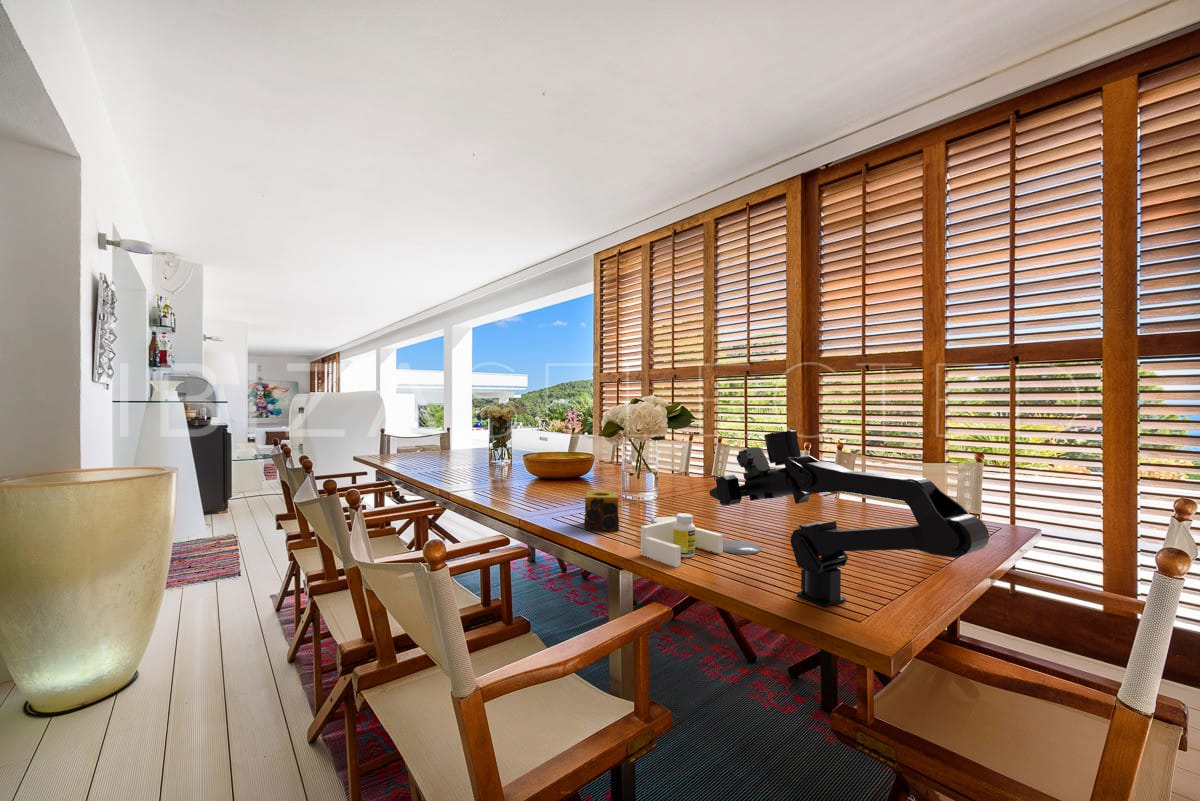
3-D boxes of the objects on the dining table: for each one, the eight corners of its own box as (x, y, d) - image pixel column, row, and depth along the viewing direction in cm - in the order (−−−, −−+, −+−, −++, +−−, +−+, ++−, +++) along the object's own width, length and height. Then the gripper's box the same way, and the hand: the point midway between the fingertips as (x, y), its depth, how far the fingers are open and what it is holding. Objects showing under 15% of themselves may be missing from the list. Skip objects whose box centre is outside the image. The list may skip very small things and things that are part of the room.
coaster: (770, 550, 128) (770, 549, 128) (737, 556, 122) (737, 555, 122) (739, 539, 137) (739, 538, 137) (707, 545, 132) (707, 543, 132)
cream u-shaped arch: (722, 552, 126) (723, 524, 126) (675, 567, 115) (676, 536, 115) (687, 542, 135) (687, 516, 135) (640, 554, 123) (640, 526, 123)
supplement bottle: (690, 559, 120) (690, 518, 120) (669, 555, 123) (669, 515, 123) (698, 553, 125) (698, 514, 125) (678, 549, 128) (678, 511, 128)
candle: (619, 532, 144) (619, 497, 144) (584, 531, 145) (584, 497, 144) (618, 523, 155) (618, 490, 155) (585, 522, 155) (585, 490, 155)
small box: (685, 541, 135) (685, 522, 135) (657, 542, 134) (657, 523, 134) (677, 534, 143) (677, 516, 143) (650, 535, 142) (650, 517, 142)
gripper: (796, 443, 113) (744, 455, 126) (738, 447, 103) (688, 460, 116) (808, 493, 110) (753, 500, 123) (749, 502, 101) (697, 509, 113)
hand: (724, 491), depth 119 cm, fingers open, 9 cm apart
